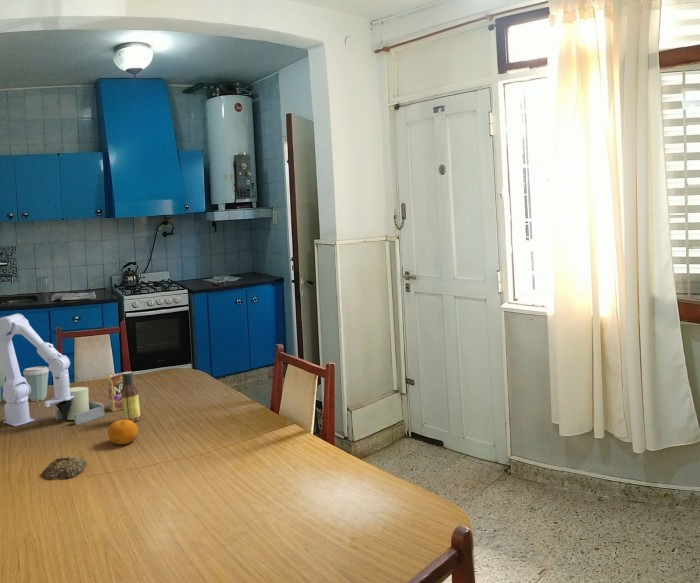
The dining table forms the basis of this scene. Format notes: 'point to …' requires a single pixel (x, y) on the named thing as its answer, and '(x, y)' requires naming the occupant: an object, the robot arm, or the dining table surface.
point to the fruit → (122, 431)
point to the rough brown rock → (64, 468)
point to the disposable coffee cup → (37, 382)
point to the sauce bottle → (130, 398)
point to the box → (86, 413)
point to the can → (78, 401)
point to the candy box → (115, 391)
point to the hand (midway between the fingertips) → (65, 419)
